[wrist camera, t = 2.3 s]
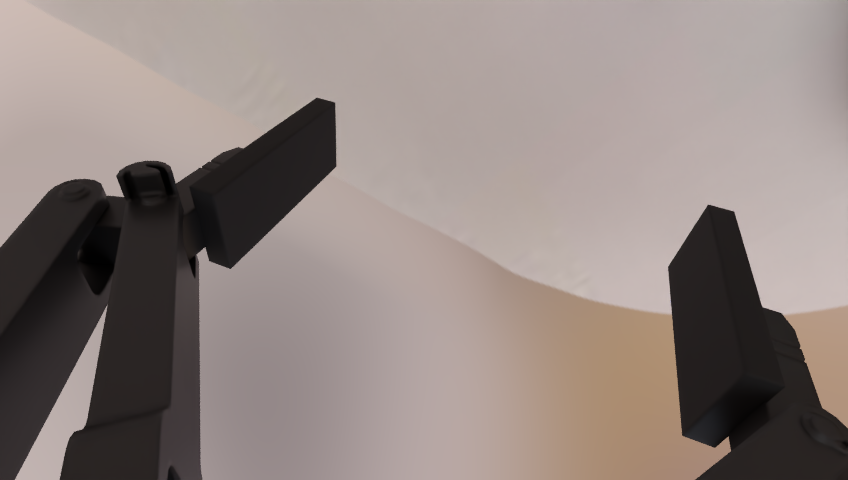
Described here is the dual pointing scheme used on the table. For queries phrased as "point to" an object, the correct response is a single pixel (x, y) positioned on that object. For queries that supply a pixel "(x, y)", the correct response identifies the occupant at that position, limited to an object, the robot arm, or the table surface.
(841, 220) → the table surface
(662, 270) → the table surface
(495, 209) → the table surface
